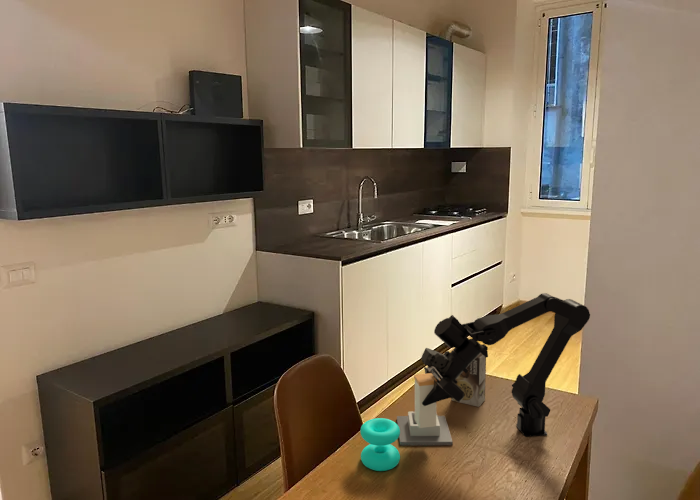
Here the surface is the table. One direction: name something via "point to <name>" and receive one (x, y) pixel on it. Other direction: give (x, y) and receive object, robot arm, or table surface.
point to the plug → (423, 386)
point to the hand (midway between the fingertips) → (420, 400)
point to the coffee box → (473, 382)
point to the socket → (423, 431)
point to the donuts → (380, 444)
